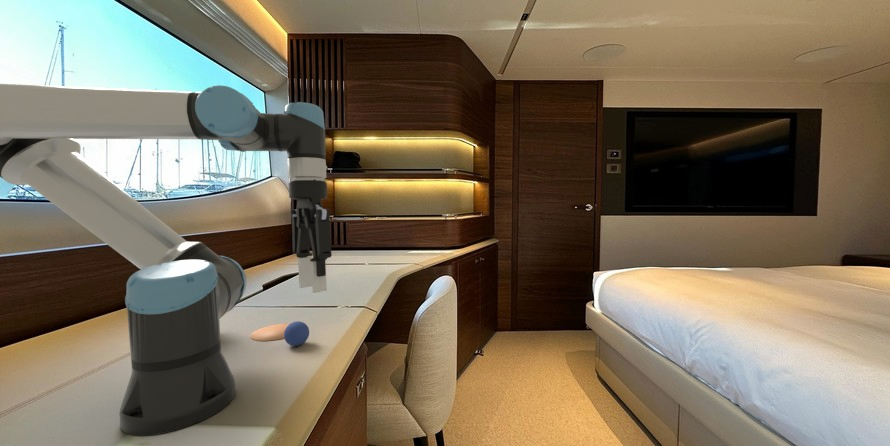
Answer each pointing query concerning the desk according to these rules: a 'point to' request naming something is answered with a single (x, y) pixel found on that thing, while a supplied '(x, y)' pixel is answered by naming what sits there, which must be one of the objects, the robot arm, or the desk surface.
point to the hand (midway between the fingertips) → (312, 288)
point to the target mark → (270, 332)
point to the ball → (296, 333)
